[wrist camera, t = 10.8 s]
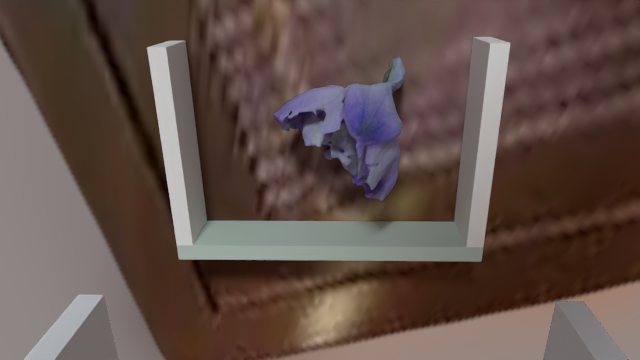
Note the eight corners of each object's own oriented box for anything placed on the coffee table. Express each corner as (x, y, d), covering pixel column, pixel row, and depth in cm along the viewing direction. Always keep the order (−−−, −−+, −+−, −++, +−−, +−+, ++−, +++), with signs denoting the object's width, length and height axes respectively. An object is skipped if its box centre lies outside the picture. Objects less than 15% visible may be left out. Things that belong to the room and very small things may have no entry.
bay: (168, 40, 33) (147, 47, 29) (490, 36, 32) (510, 43, 28) (194, 233, 39) (178, 259, 35) (467, 234, 38) (481, 261, 34)
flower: (369, -3, 25) (310, 171, 25) (468, 67, 30) (420, 215, 29) (289, 25, 33) (242, 157, 33) (377, 77, 38) (337, 194, 37)
